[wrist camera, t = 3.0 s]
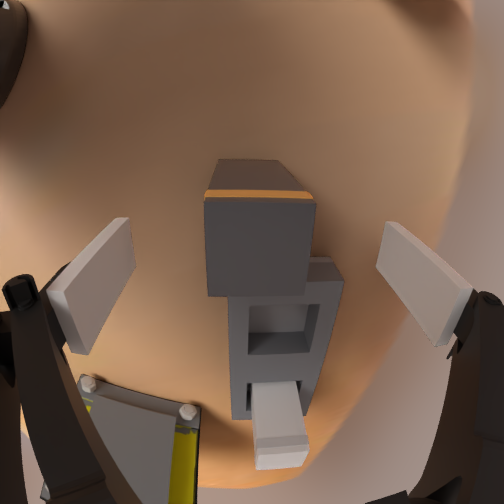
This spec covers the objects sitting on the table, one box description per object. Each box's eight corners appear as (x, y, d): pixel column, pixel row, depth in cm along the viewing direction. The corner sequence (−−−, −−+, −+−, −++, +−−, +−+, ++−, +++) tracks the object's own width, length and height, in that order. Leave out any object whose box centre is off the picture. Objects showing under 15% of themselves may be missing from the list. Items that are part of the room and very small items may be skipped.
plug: (218, 158, 21) (202, 200, 11) (278, 159, 21) (317, 202, 11) (218, 215, 23) (206, 297, 13) (275, 216, 23) (305, 296, 14)
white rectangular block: (250, 364, 30) (257, 454, 20) (292, 362, 30) (310, 450, 20) (249, 388, 32) (255, 470, 22) (287, 386, 32) (301, 466, 22)
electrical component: (204, 400, 34) (200, 540, 17) (191, 430, 39) (186, 542, 21) (79, 365, 31) (34, 493, 13) (86, 402, 35) (56, 508, 17)
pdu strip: (228, 256, 25) (227, 282, 21) (331, 256, 25) (345, 280, 22) (231, 394, 34) (231, 419, 30) (301, 391, 34) (306, 415, 31)
